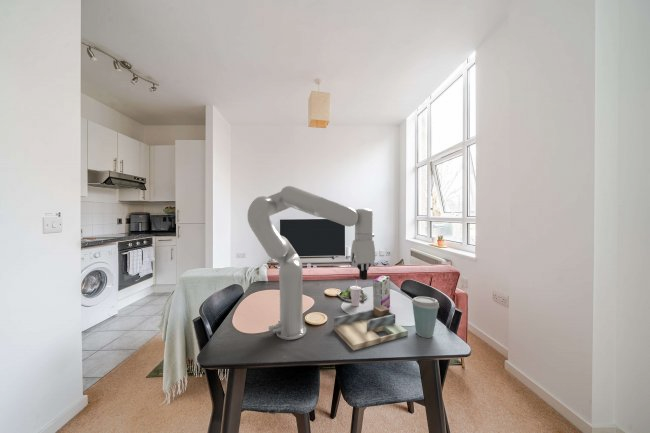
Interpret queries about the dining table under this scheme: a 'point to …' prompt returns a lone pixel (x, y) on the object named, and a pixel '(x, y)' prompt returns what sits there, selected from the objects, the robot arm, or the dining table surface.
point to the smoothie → (355, 294)
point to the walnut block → (380, 311)
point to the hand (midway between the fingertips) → (363, 278)
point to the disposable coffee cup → (425, 315)
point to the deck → (361, 334)
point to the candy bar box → (381, 291)
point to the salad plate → (348, 295)
